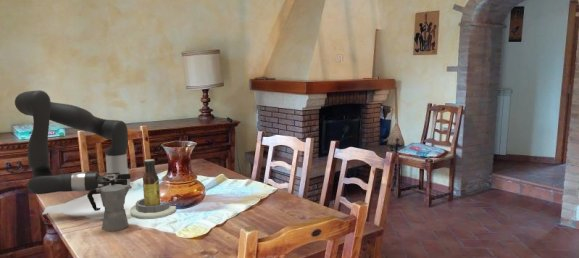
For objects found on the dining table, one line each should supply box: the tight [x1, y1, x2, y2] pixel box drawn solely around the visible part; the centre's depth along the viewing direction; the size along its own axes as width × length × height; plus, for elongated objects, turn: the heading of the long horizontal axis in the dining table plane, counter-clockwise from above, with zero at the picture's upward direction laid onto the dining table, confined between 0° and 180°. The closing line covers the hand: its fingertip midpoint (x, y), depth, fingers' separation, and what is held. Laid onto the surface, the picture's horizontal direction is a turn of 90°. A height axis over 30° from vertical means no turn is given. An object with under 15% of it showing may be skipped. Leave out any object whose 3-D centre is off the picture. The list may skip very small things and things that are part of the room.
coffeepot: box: [86, 180, 132, 232], centre depth 167 cm, size 15×9×18 cm, turn 122°
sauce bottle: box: [142, 158, 161, 206], centre depth 184 cm, size 7×6×20 cm
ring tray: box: [129, 197, 177, 220], centre depth 186 cm, size 18×18×4 cm
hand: (128, 179), depth 183 cm, fingers open, 8 cm apart
